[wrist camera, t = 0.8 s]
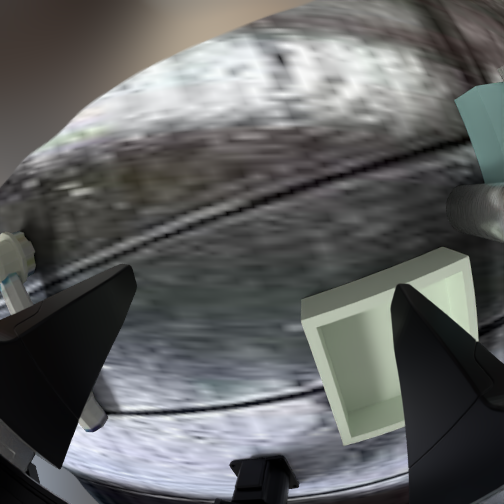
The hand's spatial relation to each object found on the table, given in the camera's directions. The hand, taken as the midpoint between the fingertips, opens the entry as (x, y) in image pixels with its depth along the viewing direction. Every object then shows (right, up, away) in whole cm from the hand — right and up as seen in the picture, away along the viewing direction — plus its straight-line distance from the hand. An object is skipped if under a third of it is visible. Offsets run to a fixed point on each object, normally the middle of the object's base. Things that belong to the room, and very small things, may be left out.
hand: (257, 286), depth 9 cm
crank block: (+22, +12, +8) cm, 26 cm away
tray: (+12, -6, +13) cm, 19 cm away
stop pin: (+17, +5, +10) cm, 21 cm away
